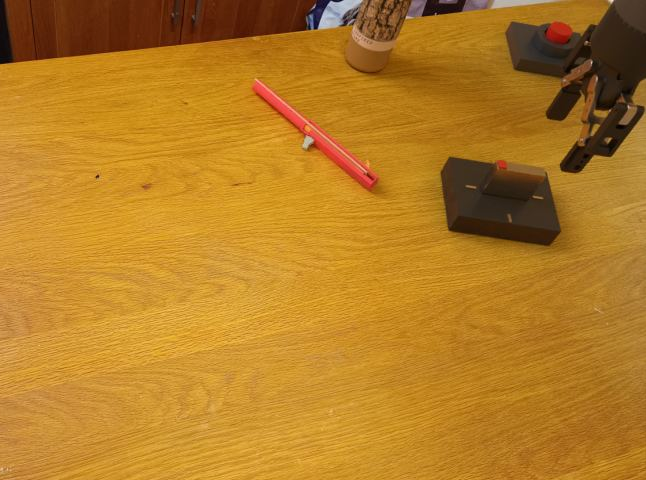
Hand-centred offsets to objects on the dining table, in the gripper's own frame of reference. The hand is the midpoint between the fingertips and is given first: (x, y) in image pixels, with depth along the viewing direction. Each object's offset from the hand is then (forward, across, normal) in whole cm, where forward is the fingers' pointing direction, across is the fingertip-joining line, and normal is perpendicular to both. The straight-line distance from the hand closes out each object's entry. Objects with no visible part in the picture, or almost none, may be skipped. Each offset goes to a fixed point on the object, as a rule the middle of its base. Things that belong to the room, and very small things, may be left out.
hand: (560, 143), depth 82 cm
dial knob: (+15, +7, -2) cm, 17 cm away
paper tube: (+18, +35, +15) cm, 42 cm away
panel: (+18, +7, -2) cm, 19 cm away
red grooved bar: (+18, +15, +24) cm, 34 cm away
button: (+14, +44, -16) cm, 49 cm away
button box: (+18, +44, -16) cm, 50 cm away
